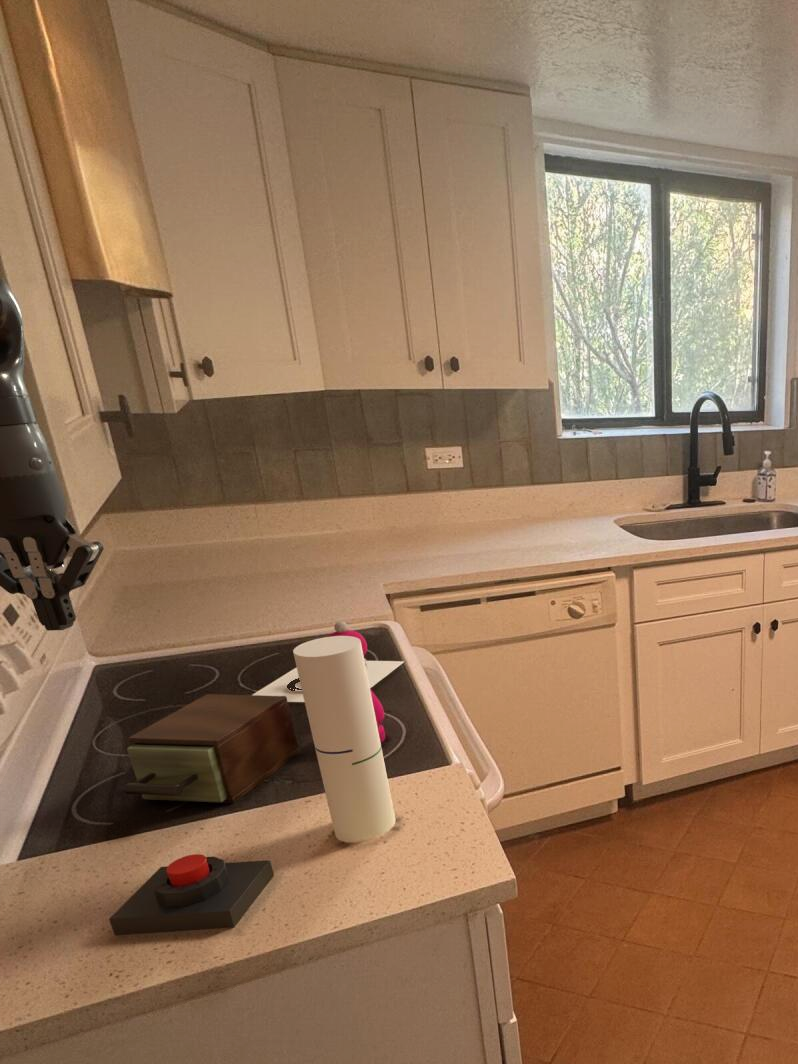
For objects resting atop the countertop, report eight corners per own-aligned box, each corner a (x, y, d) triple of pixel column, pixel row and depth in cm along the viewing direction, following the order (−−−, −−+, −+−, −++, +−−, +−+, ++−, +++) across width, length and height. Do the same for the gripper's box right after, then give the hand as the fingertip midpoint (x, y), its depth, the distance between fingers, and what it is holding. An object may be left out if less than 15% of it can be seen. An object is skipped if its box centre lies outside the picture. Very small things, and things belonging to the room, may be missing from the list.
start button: (163, 888, 84) (158, 875, 83) (182, 868, 87) (178, 855, 87) (198, 886, 84) (194, 873, 84) (216, 866, 88) (212, 853, 87)
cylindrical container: (338, 817, 103) (298, 640, 94) (396, 807, 105) (363, 632, 97) (331, 847, 97) (288, 660, 88) (394, 835, 99) (358, 651, 90)
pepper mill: (342, 734, 126) (317, 617, 119) (391, 728, 128) (369, 612, 121) (335, 755, 119) (308, 632, 112) (386, 748, 121) (362, 626, 114)
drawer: (198, 819, 101) (183, 766, 99) (116, 816, 102) (98, 763, 99) (285, 754, 118) (274, 707, 115) (214, 752, 119) (201, 705, 116)
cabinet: (233, 803, 107) (216, 740, 103) (147, 800, 108) (127, 737, 104) (299, 752, 120) (286, 695, 117) (222, 750, 121) (207, 693, 118)
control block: (114, 936, 82) (103, 904, 81) (166, 882, 91) (156, 853, 89) (234, 928, 83) (225, 897, 82) (274, 875, 92) (266, 846, 90)
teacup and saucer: (306, 674, 150) (302, 654, 148) (346, 675, 149) (342, 655, 148) (277, 693, 142) (272, 672, 140) (320, 694, 141) (315, 673, 140)
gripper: (100, 464, 85) (145, 615, 91) (-32, 466, 84) (22, 619, 90) (49, 473, 78) (101, 637, 84) (-96, 476, 77) (-33, 642, 83)
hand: (60, 628), depth 87 cm, fingers closed
